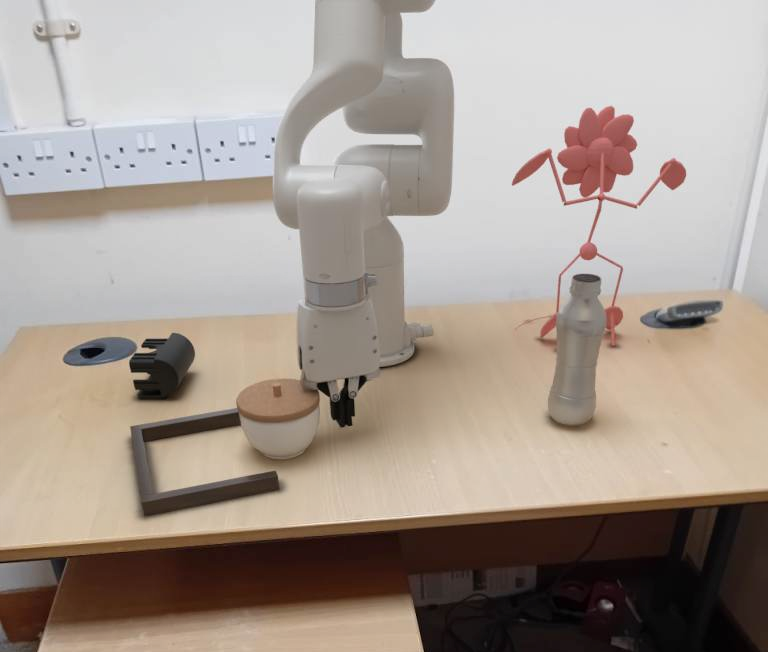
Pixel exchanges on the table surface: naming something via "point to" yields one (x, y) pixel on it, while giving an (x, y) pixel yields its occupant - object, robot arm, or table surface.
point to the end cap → (162, 366)
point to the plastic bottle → (577, 352)
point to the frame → (201, 492)
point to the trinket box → (279, 417)
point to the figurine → (598, 179)
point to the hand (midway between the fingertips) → (343, 422)
